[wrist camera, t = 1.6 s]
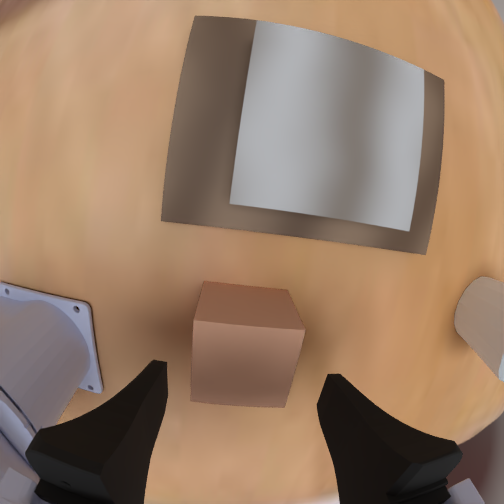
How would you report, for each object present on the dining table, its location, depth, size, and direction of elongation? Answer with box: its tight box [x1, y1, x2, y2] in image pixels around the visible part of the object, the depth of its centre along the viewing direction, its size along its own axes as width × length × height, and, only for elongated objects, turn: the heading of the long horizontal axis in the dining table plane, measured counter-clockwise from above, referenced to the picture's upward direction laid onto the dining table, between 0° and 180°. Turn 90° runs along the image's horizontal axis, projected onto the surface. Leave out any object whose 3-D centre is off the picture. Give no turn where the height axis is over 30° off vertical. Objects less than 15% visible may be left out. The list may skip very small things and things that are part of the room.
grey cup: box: [454, 276, 504, 382], centre depth 16 cm, size 7×7×7 cm
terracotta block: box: [191, 281, 306, 408], centre depth 15 cm, size 5×5×5 cm
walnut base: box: [161, 16, 444, 255], centre depth 13 cm, size 16×12×4 cm
